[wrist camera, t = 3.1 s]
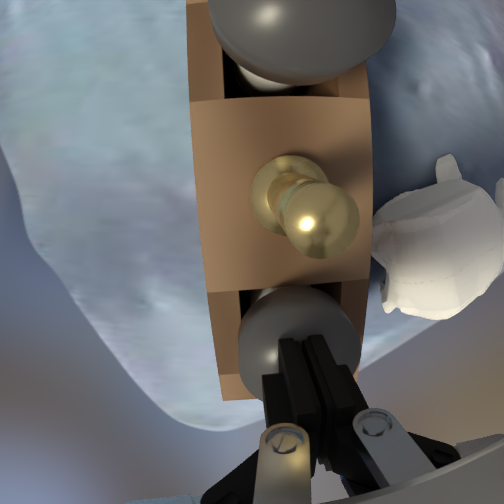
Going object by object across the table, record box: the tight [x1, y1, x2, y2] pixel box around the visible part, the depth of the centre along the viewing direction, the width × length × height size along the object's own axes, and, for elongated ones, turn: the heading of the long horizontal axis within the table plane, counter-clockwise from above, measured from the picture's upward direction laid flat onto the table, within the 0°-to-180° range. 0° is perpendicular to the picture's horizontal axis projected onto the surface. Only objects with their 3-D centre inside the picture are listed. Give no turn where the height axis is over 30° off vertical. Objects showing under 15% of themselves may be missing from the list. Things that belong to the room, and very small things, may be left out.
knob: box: [208, 0, 396, 97], centre depth 10 cm, size 5×5×9 cm
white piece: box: [371, 154, 504, 320], centre depth 18 cm, size 9×8×15 cm
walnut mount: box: [186, 0, 373, 401], centre depth 16 cm, size 7×20×8 cm, turn 4°
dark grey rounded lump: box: [238, 285, 361, 401], centre depth 16 cm, size 5×5×9 cm
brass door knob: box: [250, 155, 360, 259], centre depth 10 cm, size 3×3×5 cm
